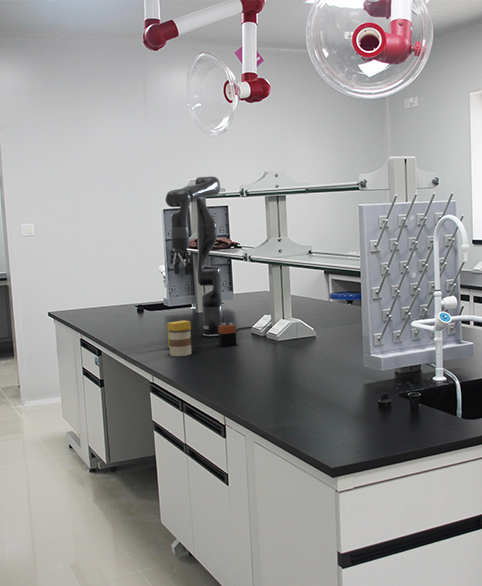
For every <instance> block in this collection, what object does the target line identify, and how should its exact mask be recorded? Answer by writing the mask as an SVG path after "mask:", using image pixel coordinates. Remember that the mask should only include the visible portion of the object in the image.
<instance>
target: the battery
mask: <svg viewBox="0 0 482 586" xmlns="http://www.w3.org/2000/svg"><path fill="white" fill-rule="evenodd" d="M221 324H222V325H219V326H218V330H219V336H218V346H221V347H222V348H223V347H231V346H236V345H237V331H236V329H237V328H236V327H237V326H236V324H234V323H233V322H229V323H226V322H224V323H221Z"/></svg>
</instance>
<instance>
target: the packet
mask: <svg viewBox="0 0 482 586" xmlns="http://www.w3.org/2000/svg"><path fill="white" fill-rule="evenodd" d="M191 324H192V322H191V321H190V320H175V321H169V322H167V325H168V330H171V331H178V330H184V329H191V330H192V325H191Z"/></svg>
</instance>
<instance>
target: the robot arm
mask: <svg viewBox="0 0 482 586" xmlns="http://www.w3.org/2000/svg"><path fill="white" fill-rule="evenodd" d="M220 191H221V182H220V180H219V179H218V178H217V177H216V176H197V178H196V179H195V180H194V184H190V185H188V186H187V185H186V186H184V187H183V188H179V189H173V190H169V191H167V193H166V195H165V198H164V199H165V203H166V205H167V206H168V207H170V208H179V210H178V211H177V212H173V213H172V214H171V215H170V224H171V226H170V227H171V229H170V239H171V248H172V249H171V250H170V253H169V254H170V264H171V265H172V266H173V273H174V275H180V263H183V267H184V268H183V270H184V275H185V276H189V275H191V266H192V265H193V264H194V261H193V251H192V250H188V249H189V248H190V232H189V222H188V221H189V220H188V216H189V211H190V206H191V203H192V202H195V204H196V221H197V222H196V236H197V272H196V273H197V274H196V275H197V278H196V279H197V282H198V285H199V286H201V287H203V286H204V287H205V286H207V287H209V286H210V287H211V286H212V289H211V290H209V291H207V292H204V293H203V294H202V295H201V307H202V308H201V309H202V327H203V337H207V338H216V337H219V330H218V326H219V325H222V324H221V323H225V315H224V314H223V303H222V269H221V268H220V266H219V265H207V260H208V257H209V254H210V253H211V250H212V249H213V248H214V246H215V244H216V242H217V239H218V225H217V221H216V220H215V218H214V217H213V215H212V213H211V212H210V210H209V209H208V206H207V201H206V197H216V196H217V195H219V193H220ZM247 329H253V328H252V326H244V327H237V328H236V332H237V331H240V330H247Z"/></svg>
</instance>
